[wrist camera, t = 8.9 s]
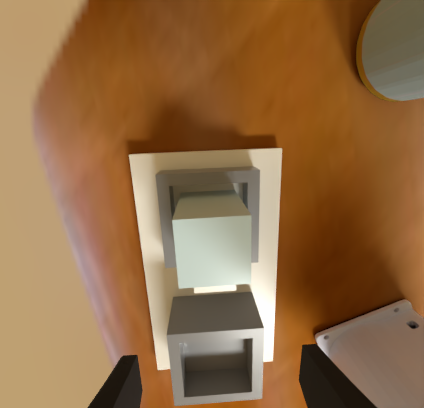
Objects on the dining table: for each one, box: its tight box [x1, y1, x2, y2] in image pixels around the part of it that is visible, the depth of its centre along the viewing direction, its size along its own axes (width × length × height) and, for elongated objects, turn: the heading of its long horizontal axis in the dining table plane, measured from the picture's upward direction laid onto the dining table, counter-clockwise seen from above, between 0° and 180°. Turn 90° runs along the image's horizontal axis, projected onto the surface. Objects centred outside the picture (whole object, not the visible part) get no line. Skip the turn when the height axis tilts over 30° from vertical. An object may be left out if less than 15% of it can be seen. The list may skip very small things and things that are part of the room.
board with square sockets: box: [129, 148, 282, 406], centre depth 18 cm, size 20×11×5 cm, turn 2°
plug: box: [172, 190, 251, 293], centre depth 15 cm, size 5×4×6 cm
